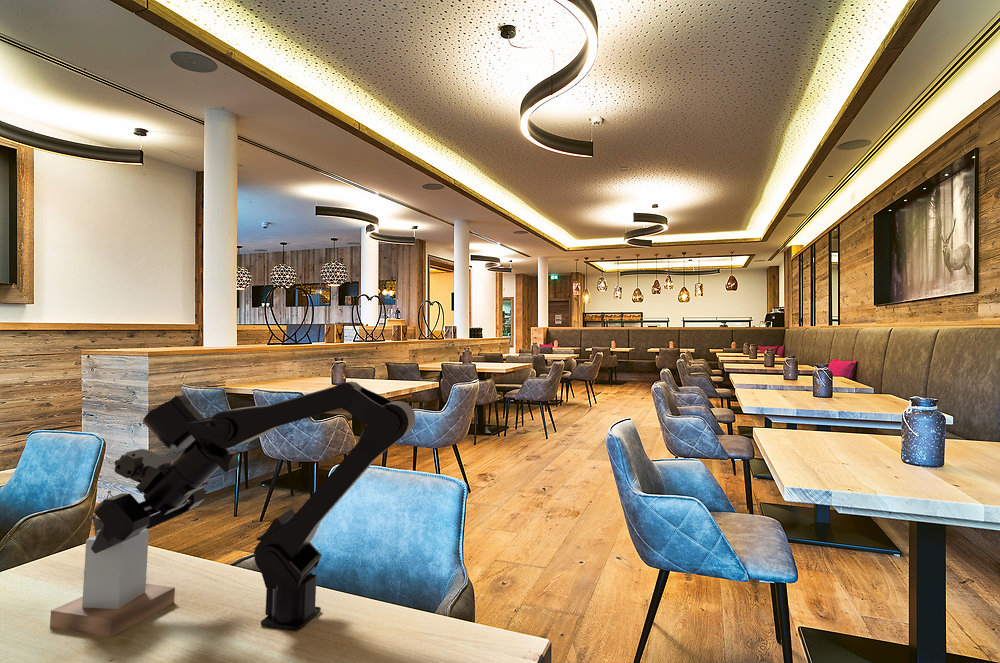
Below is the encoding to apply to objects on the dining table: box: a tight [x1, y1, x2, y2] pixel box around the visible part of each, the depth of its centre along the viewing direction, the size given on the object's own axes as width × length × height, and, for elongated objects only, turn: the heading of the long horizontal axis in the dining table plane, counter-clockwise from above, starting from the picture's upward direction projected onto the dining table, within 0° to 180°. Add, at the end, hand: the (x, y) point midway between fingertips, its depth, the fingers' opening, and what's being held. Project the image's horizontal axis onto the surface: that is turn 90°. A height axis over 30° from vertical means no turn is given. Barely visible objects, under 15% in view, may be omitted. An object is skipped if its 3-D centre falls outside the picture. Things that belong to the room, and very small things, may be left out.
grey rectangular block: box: [82, 528, 150, 609], centre depth 81 cm, size 6×6×11 cm
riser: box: [49, 583, 176, 638], centre depth 81 cm, size 11×11×3 cm
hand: (116, 540), depth 81 cm, fingers open, 9 cm apart
